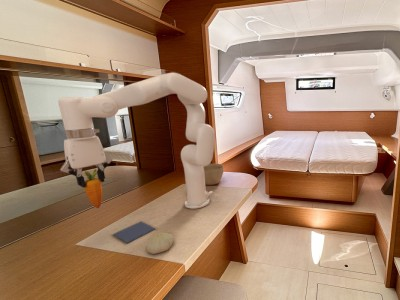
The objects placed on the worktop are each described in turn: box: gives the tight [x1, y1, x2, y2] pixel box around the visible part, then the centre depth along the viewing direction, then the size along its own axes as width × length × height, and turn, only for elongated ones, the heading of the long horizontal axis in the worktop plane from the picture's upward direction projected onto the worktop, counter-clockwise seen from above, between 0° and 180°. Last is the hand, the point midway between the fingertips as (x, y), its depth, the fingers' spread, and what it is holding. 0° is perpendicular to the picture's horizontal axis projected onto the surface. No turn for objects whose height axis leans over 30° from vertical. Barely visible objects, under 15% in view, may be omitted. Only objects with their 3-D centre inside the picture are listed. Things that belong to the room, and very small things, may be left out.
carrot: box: [83, 168, 103, 209], centre depth 79 cm, size 5×5×15 cm
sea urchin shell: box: [144, 232, 174, 255], centre depth 80 cm, size 9×8×8 cm
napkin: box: [113, 221, 156, 244], centre depth 90 cm, size 11×11×1 cm
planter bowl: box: [203, 163, 225, 186], centre depth 144 cm, size 16×16×11 cm
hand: (92, 183), depth 78 cm, fingers closed on carrot, 5 cm apart
